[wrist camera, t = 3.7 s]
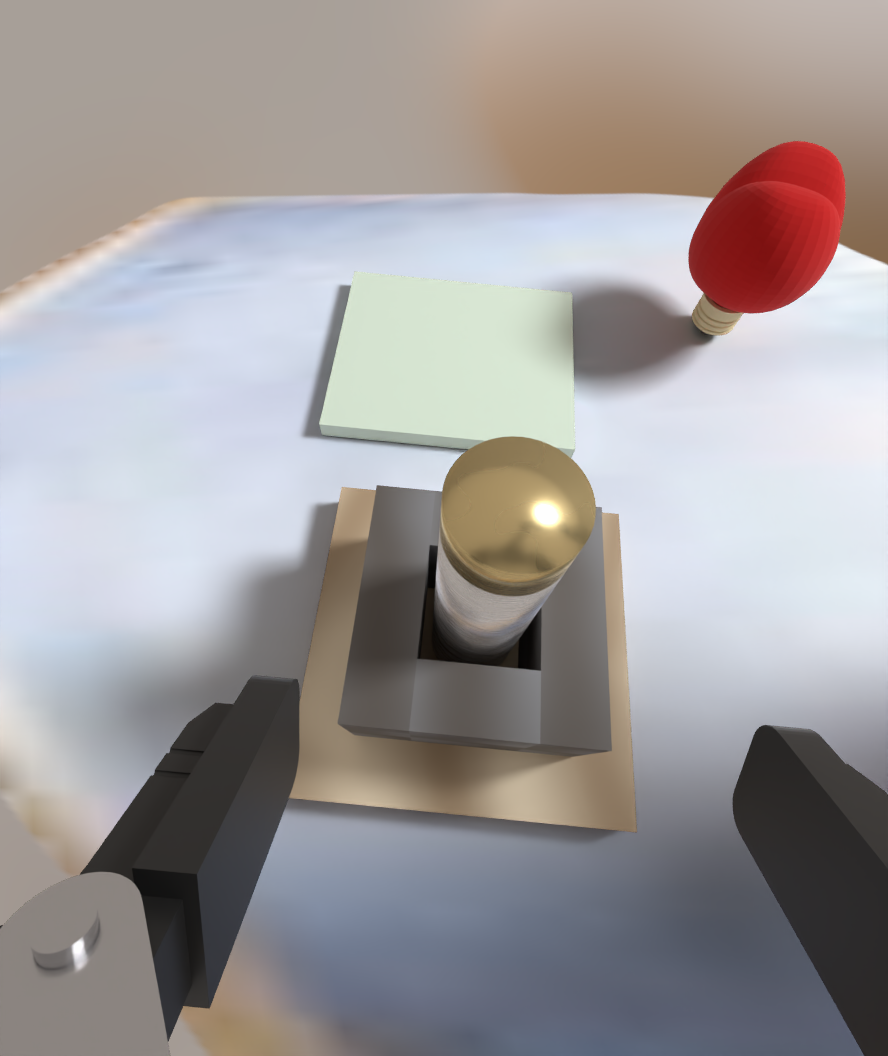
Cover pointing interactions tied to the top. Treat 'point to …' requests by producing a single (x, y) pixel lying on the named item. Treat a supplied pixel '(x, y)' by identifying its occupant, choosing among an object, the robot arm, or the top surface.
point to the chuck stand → (463, 684)
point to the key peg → (504, 544)
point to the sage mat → (452, 364)
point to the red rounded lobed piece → (767, 234)
